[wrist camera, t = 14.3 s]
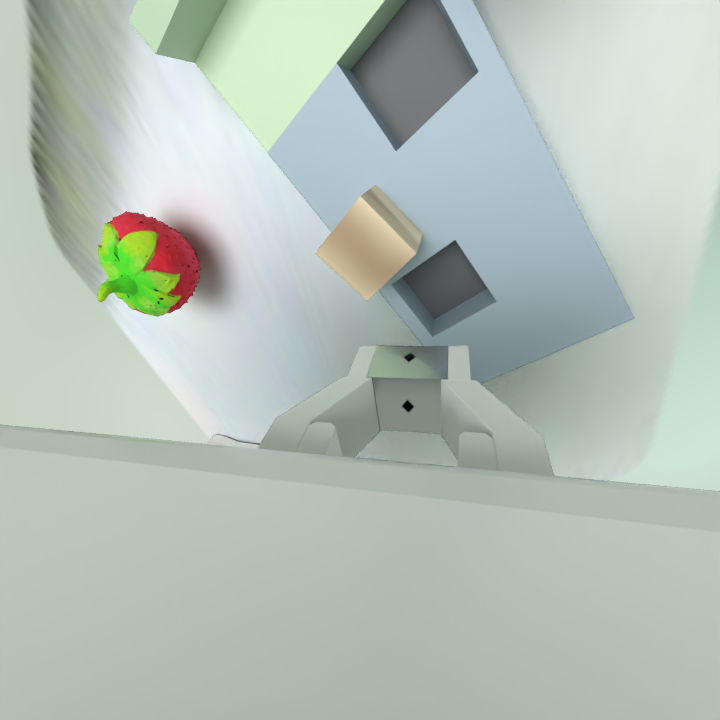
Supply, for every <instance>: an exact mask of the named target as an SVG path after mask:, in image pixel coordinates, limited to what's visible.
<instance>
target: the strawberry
mask: <svg viewBox="0 0 720 720" xmlns="http://www.w3.org/2000/svg"><path fill="white" fill-rule="evenodd" d="M195 252H196V251H195V250H193V249H192V247H191V244H190V243H188V242H187V239H185V238H183V237H182V236H181V234H180V232H177V231H176V229H172V228H170V227H168V225H165V224H164V223H163V222H160V221H157V220H156V218H153V217H146V216H145V215H144V214H139V213H131V212H127V211H126V212H125V213H123V214H121V215H119V216H117V217H114V218H113V220H112V221H110V222H108V223H105V225H104V232H103V239H102V245H98V254H99V259H100V264H101V266H102V267H103V268H104V270H105V273H106V275H107V276H108V277H109V279H107V282H104V283H103V284H102V285H101V286H100V288H99V291H98V301H100V302H102V301H104V300H105V299H106V298H107V296H108V295H109V294H110V293H112V292H114V293H115V294H116V296H117V297H118V298H120V299H122V300H123V301H124V302H125V303H126V304H127V305H128V306H129V307H130V308H131V309H132V310H137V311H139V312H142V313H144V314H149V315H153V316H157V317H158V316H160V315H164V314H166V313H171V312H173V311H174V310H177V309H180V308H181V306H182V305H183V304H185V303H188V302H187V300H188V299H189V297H191V296H193V292H194V291H195V287H197V285H196V284H197V283H198V282H199V281H198V279H199V278H200V274H199V271H200V270H201V269H200V268H199V267H200V265H199V264H198V263H199V260H198V259H197V254H195Z"/></svg>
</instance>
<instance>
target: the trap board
mask: <svg viewBox="0 0 720 720" xmlns="http://www.w3.org/2000/svg"><path fill="white" fill-rule="evenodd" d="M129 23H130V24H131V25H132V26H133V28H134V29H135V30H136V31H137V32H138V34H139V35H140V36H141V37H142V38H143V40H144V41H145V42H146V43H147V44H148V45H149V47H150V48H151V49H152V50H153V51H154V53H155V54H158V55H163V56H167V57H172V58H176V59H180V60H185V61H189V62H194V63H195V64H196V65H197V66H198V67H199V69H200V70H201V71H202V72H203V74H204V75H205V76H206V77H207V79H208V80H209V81H210V82H211V83H212V85H213V86H214V87H215V88H216V90H217V91H218V92H219V93H220V95H221V96H222V97H223V98H224V100H225V101H226V102H227V103H228V105H229V106H230V107H231V108H232V110H233V111H234V112H235V113H236V114H237V116H238V117H239V118H240V119H241V121H242V122H243V123H244V124H245V126H246V127H247V128H248V129H249V131H250V132H251V133H252V134H253V136H254V137H255V138H256V139H257V140H258V142H259V143H260V144H261V145H262V147H263V148H264V149H265V150H266V152H267V153H268V154H269V155H270V157H271V158H272V159H273V160H274V162H275V163H276V164H277V165H278V167H279V168H280V169H281V170H282V171H283V173H284V174H285V175H286V176H287V178H288V179H289V180H290V181H291V183H292V184H293V185H294V186H295V188H296V189H297V190H298V191H299V193H300V194H301V195H302V196H303V197H304V199H305V200H306V201H307V202H308V204H309V205H310V206H311V207H312V209H313V210H314V211H315V212H316V214H317V215H318V216H319V217H320V219H321V220H322V221H323V222H324V223H325V225H326V226H327V227H328V228H329V230H330V231H331V232H332V231H333V230H334V229H335V228H336V226H337V225H338V224H339V223H340V221H341V220H342V219H343V217H344V216H345V215H346V214H347V212H348V211H349V210H350V209H351V207H352V206H353V205H354V203H355V202H356V201H357V200H358V198H359V197H360V196H361V195H362V194H364V193H365V192H366V191H368V190H369V189H370V188H372V187H373V186H374V185H377V186H378V187H379V188H380V189H381V190H382V191H383V192H384V193H385V194H386V195H387V196H388V197H389V198H390V199H391V200H392V202H393V203H394V204H395V205H396V206H397V207H398V208H399V209H400V210H401V211H402V212H403V213H404V214H405V215H406V216H407V217H408V218H409V219H410V220H411V221H412V222H413V223H414V224H415V226H416V227H417V228H418V229H419V230H420V231H421V232H422V233H423V235H422V238H421V241H420V244H419V247H418V250H417V253H416V254H415V255H414V256H413V257H412V258H411V259H410V260H409V261H408V262H407V263H406V264H405V265H404V266H403V267H402V268H401V269H400V270H399V271H398V272H397V273H396V274H395V275H394V276H393V277H392V278H391V279H390V280H389V281H388V282H387V283H386V284H385V285H384V286H382V287H381V288H380V289H379V292H380V293H381V294H382V295H383V297H384V298H385V299H386V300H387V302H388V303H389V304H390V305H391V307H392V308H393V309H394V310H395V311H396V313H397V314H398V315H399V316H400V318H401V319H402V320H403V321H404V323H405V324H406V325H407V326H408V328H409V329H410V330H411V331H412V333H413V334H414V335H415V336H416V337H417V339H418V340H419V341H420V342H421V344H422V345H423V346H448V348H449V346H455V345H467V346H468V349H469V363H470V377H471V380H476V381H478V382H479V383H480V384H481V383H484V382H486V381H488V380H491V379H493V378H495V377H498V376H500V375H502V374H505V373H507V372H510V371H512V370H514V369H517V368H519V367H521V366H524V365H526V364H528V363H531V362H533V361H535V360H538V359H540V358H542V357H545V356H547V355H549V354H552V353H554V352H557V351H559V350H561V349H564V348H566V347H568V346H571V345H573V344H575V343H578V342H580V341H582V340H585V339H587V338H589V337H592V336H594V335H596V334H599V333H601V332H604V331H606V330H608V329H611V328H613V327H615V326H618V325H620V324H622V323H625V322H627V321H629V320H632V319H634V316H633V314H632V312H631V310H630V308H629V307H628V305H627V303H626V301H625V299H624V297H623V295H622V293H621V291H620V289H619V287H618V285H617V283H616V281H615V279H614V277H613V275H612V273H611V271H610V269H609V267H608V265H607V263H606V261H605V259H604V257H603V255H602V254H601V252H600V250H599V248H598V246H597V244H596V242H595V240H594V238H593V236H592V234H591V232H590V230H589V228H588V226H587V224H586V222H585V220H584V218H583V216H582V214H581V212H580V210H579V208H578V206H577V204H576V202H575V201H574V199H573V197H572V195H571V193H570V191H569V189H568V187H567V185H566V183H565V181H564V179H563V177H562V175H561V173H560V171H559V169H558V167H557V165H556V163H555V161H554V159H553V157H552V155H551V153H550V151H549V149H548V147H547V146H546V144H545V142H544V140H543V138H542V136H541V134H540V132H539V130H538V128H537V126H536V124H535V122H534V120H533V118H532V116H531V114H530V112H529V110H528V108H527V106H526V104H525V102H524V100H523V98H522V96H521V94H520V93H519V91H518V89H517V87H516V85H515V83H514V81H513V79H512V77H511V75H510V73H509V71H508V69H507V67H506V65H505V63H504V61H503V59H502V57H501V55H500V53H499V51H498V49H497V47H496V45H495V43H494V41H493V40H492V38H491V36H490V34H489V32H488V30H487V28H486V26H485V24H484V22H483V20H482V18H481V16H480V14H479V12H478V10H477V8H476V6H475V4H474V2H473V0H137V1H136V4H135V6H134V9H133V12H132V14H131V17H130V20H129Z"/></svg>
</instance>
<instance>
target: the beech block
mask: <svg viewBox="0 0 720 720" xmlns="http://www.w3.org/2000/svg"><path fill="white" fill-rule="evenodd" d="M422 235H423V233H422V232H421V231H420V230H419V229H418V228H417V227H416V226H415V224H414V223H413V222H412V221H411V220H410V219H409V218H408V217H407V216H406V215H405V214H404V213H403V212H402V211H401V210H400V209H399V208H398V207H397V206H396V205H395V204H394V203H393V202H392V200H391V199H390V198H389V197H388V196H387V195H386V194H385V193H384V192H383V191H382V190H381V189H380V188H379V187H378V186H377V185H374V186H373V187H372V188H370V189H369V190H368V191H366V192H365V193H364V194H362V195H361V196H360V197H359V198H358V200H357V201H356V202H355V203H354V205H353V206H352V207H351V209H350V210H349V211H348V212H347V214H346V215H345V216H344V217H343V219H342V220H341V221H340V223H339V224H338V225H337V226H336V228H335V229H334V230H333V231H332V233H331V234H330V235H329V237H328V238H327V239H326V240H325V242H324V243H323V244H322V245H321V247H320V248H319V249H318V251H317V252H316V253H315V254H316V255H317V256H318V257H320V258H321V259H322V260H323V261H324V262H325V263H326V264H327V265H328V266H329V267H330V268H332V269H333V270H334V271H335V272H336V273H337V274H338V275H339V276H340V277H341V278H342V279H343V280H345V281H346V282H347V283H348V284H349V285H350V286H351V287H352V288H353V289H354V290H355V291H356V292H358V293H359V294H360V295H361V296H362V297H363V298H364V299H365V300H366V301H368V300H369V299H370V298H371V297H372V296H373V295H374V294H375V293H376V292H377V291H378V290H379V289H380V288H381V287H382V286H384V285H385V284H386V283H387V282H388V281H389V280H390V279H391V278H392V277H393V276H394V275H395V274H396V273H397V272H398V271H399V270H400V269H401V268H402V267H403V266H404V265H405V264H406V263H407V262H408V261H409V260H410V259H411V258H412V257H413V256H414V255H415V254H416V253H417V250H418V247H419V244H420V241H421V238H422Z"/></svg>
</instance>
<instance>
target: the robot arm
mask: <svg viewBox="0 0 720 720" xmlns="http://www.w3.org/2000/svg"><path fill="white" fill-rule="evenodd" d="M380 430H391V431H412V432H423V433H433V434H441V435H442V437H443V439H444V440H445V442H446V443H447V445H448V446H449V448H450V449H451V451H452V452H453V454H454V455H455V457H456V458H457V460H458V467H452V466H441V465H430V464H419V463H408V462H397V461H386V460H376V459H365V458H354V457H355V456H356V455H357V454H358V453H359V452H360V451H361V450H362V449H363V448H364V447H365V446H366V445H367V444H368V443H369V442H370V441H371V440H372V439H373V438H374V437H375V436H376V435H377V434H378V433H379V432H380ZM0 720H720V491H711V490H700V489H690V488H679V487H668V486H656V485H646V484H634V483H622V482H613V481H602V480H591V479H581V478H570V477H559V476H554V474H553V470H552V467H551V463H550V460H549V457H548V453H547V450H546V446H545V443H544V439H543V436H542V435H541V434H540V433H539V432H537V431H536V430H535V429H534V428H533V427H531V426H530V425H529V424H528V423H527V422H525V421H524V420H523V419H522V418H521V417H519V416H518V415H517V414H516V413H515V412H513V411H512V410H511V409H510V408H509V407H507V406H506V405H505V404H504V403H503V402H501V401H500V400H499V399H498V398H497V397H496V396H494V395H493V394H492V393H491V392H490V391H488V390H487V389H486V388H485V387H484V386H482V385H481V384H480V383H479V382H478V381H476V380H471V377H470V363H469V349H468V346H467V345H455V346H449V348H448V346H414V347H413V346H383V345H379V346H378V345H362V346H360V347H359V350H358V352H357V354H356V357H355V359H354V361H353V364H352V366H351V368H350V371H349V373H348V375H347V377H341V378H339V379H338V380H336V381H335V382H333V383H331V384H330V385H328V386H327V387H325V388H323V389H322V390H320V391H319V392H317V393H315V394H314V395H312V396H311V397H309V398H307V399H306V400H304V401H303V402H301V403H299V404H298V405H296V406H295V407H293V408H291V409H290V410H288V411H287V412H285V413H283V414H282V415H280V416H278V417H277V418H276V419H275V420H274V422H273V424H272V425H271V427H270V429H269V430H268V432H267V434H266V435H265V437H264V438H263V440H262V442H261V443H260V445H257V444H251V443H243V442H238V441H235V440H232V439H230V438H227V437H225V436H221V435H214V436H213V437H212V439H211V440H210V441H209V442H208V444H203V443H192V442H181V441H171V440H160V439H149V438H138V437H128V436H117V435H106V434H95V433H83V432H74V431H63V430H53V429H42V428H31V427H20V426H9V425H0Z"/></svg>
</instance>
